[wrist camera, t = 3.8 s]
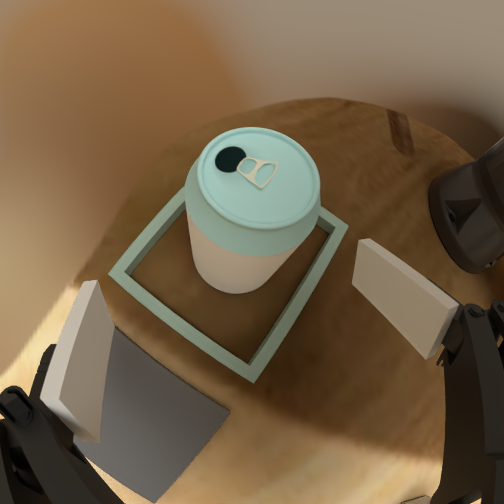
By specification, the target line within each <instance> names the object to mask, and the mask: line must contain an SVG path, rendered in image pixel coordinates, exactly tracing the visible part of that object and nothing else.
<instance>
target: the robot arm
mask: <svg viewBox="0 0 504 504" xmlns="http://www.w3.org/2000/svg"><path fill="white" fill-rule="evenodd" d="M429 203H430V209H431V214H432V217H433V221H434V224H435V227H436V229H437V232H438V234H439V236H440V238H441V240H442V242H443V244H444V246H445V248H446V249H447V251H448V253H449V254H450V255H451V257H452V258H453V259H454V261H455V262H456V263H457V264H458V265H459V266H460V267H461V268H463V269H464V270H466V271H467V272H470V273H474V274H476V273H480V272H482V271H485V270H487V269H489V268H491V267H492V266H493V265H494V264H495V263H496V262H497V260H499V259H500V258H501V257H502V256H503V255H504V137H503V138H502V139H501V140H500V141H499V142H497V143H496V144H495V145H494V146H493V147H492V148H491V149H489V150H488V151H487V152H486V153H485V154H484V155H483V156H481V157H480V158H479V159H478V160H476V161H474V162H471V163H467V164H464V165H461V166H458V167H455V168H452V169H448V170H446V171H444V172H443V173H441V174H440V175H439V176H438V177H437V178H436V179H434V180H433V182H432V184H431V186H430V191H429ZM352 285H354V286H355V287H356V288H357V289H358V290H359V291H360V292H361V293H362V294H363V295H364V296H365V297H366V298H367V299H368V300H369V301H370V302H371V303H372V304H373V305H374V306H375V307H376V308H377V309H378V310H379V311H380V312H381V313H382V314H383V315H384V316H385V317H386V318H387V319H388V320H389V321H390V322H391V324H392V325H393V326H394V327H395V328H396V329H397V330H398V331H399V332H400V333H401V334H402V335H403V336H404V337H405V338H406V339H407V340H408V341H409V342H410V343H411V344H412V345H413V347H414V348H415V349H416V350H417V351H418V352H419V353H420V354H421V355H422V356H423V357H424V358H425V359H428V358H429V357H431V356H433V355H434V354H436V353H437V351H438V349H439V347H440V345H441V343H442V344H443V345H444V346H445V348H444V350H443V352H442V354H441V355H440V357H439V359H438V361H437V364H436V365H437V366H438V365H439V364H440V362H441V360H443V363H442V365H441V366H444V376H445V401H446V420H445V443H444V455H443V465H442V473H441V480H440V485H439V487H438V489H437V490H436V492H435V493H434V494H433V496H432V498H431V500H430V503H429V504H470V503H472V502H474V501H476V500H478V499H480V498H482V499H481V504H504V340H503V341H502V343H501V345H500V346H499V348H498V347H497V344H496V343H497V341H498V340H499V338H500V336H501V335H502V337H503V339H504V301H502V300H494V301H493V302H492V304H491V307H490V309H488V310H483V309H482V308H481V307H480V306H478V305H475V304H466V305H465V306H463V305H462V304H461V303H460V302H458V301H457V300H456V299H455V298H453V297H452V296H451V295H450V294H448V293H447V292H446V291H443V289H442V288H441V287H439V286H437V284H435V283H434V282H433V281H431V280H430V279H428V278H426V277H424V276H422V275H421V274H420V273H418V272H417V271H416V270H414V269H413V268H411V267H410V266H409V265H407V264H406V263H404V262H403V261H402V260H400V259H399V258H397V257H396V256H395V255H393V254H392V253H390V252H389V251H387V250H386V249H385V248H383V247H382V246H380V245H379V244H377V243H376V242H374V241H373V240H371V239H370V238H368V239H361V240H358V247H357V254H356V261H355V267H354V273H353V279H352ZM114 327H115V325H114V323H113V320H112V318H111V315H110V313H109V310H108V308H107V305H106V302H105V300H104V297H103V294H102V291H101V288H100V285H99V282H98V280H92V281H85V282H83V284H82V286H81V288H80V290H79V292H78V295H77V297H76V299H75V301H74V303H73V306H72V308H71V310H70V313H69V315H68V317H67V320H66V322H65V325H64V327H63V330H62V332H61V335H60V337H59V340H58V342H57V344H50V346H49V347H48V348H47V349H46V351H45V352H44V353H43V356H42V358H41V361H40V365H39V367H38V370H37V373H36V375H35V378H34V381H33V385H32V388H31V391H30V394H29V397H28V395H27V394H26V393H25V392H24V391H23V389H22V388H20V387H18V386H10V387H8V388H6V389H5V390H4V391H2V392H1V394H0V414H1V415H2V416H3V417H4V418H5V419H0V504H125V503H124V502H123V501H122V500H121V499H120V498H119V497H118V496H117V495H116V494H115V493H114V492H113V491H112V490H111V488H110V487H109V486H108V485H107V484H106V483H105V482H104V480H103V479H102V478H101V477H100V476H99V474H98V473H97V472H96V471H95V469H94V468H93V467H92V466H91V464H90V463H89V462H88V460H87V459H86V458H85V456H84V455H83V454H82V452H81V451H80V450H79V448H78V447H77V445H76V444H74V443H73V438H74V435H76V436H77V437H78V438H79V439H80V440H81V441H84V442H100V427H101V414H102V404H103V395H104V387H105V379H106V372H107V366H108V359H109V354H110V348H111V342H112V337H113V332H114Z"/></svg>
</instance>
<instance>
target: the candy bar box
mask: <svg viewBox="0 0 504 504" xmlns="http://www.w3.org/2000/svg"><path fill="white" fill-rule="evenodd" d="M430 500H431V497H428V496H422V497H419V498H416V499H414V500H410V501H406V502H403V503H401V504H429V503H430Z"/></svg>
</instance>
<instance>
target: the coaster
mask: <svg viewBox="0 0 504 504" xmlns="http://www.w3.org/2000/svg"><path fill="white" fill-rule="evenodd" d="M229 414H230V410H229V409H227V408H225V407H224V406H222V405H220V404H219V403H217V402H216V401H214V400H212V399H211V398H209V397H208V396H206V395H205V394H203V393H202V392H200V391H198V390H197V389H196V388H194V387H193V386H191V385H190V384H188V383H187V382H185V381H184V380H182V379H181V378H180V377H178V376H177V375H175V374H174V373H173V372H171V371H170V370H169V369H167V368H166V367H165V366H163V365H162V364H161V363H159V362H158V361H157V360H155V359H154V358H153V357H152V356H150V355H149V354H148V353H147V352H145V351H144V350H143V349H142V348H140V347H139V346H138V345H137V344H135V343H134V342H133V341H132V340H131V339H130V338H128V337H127V336H126V335H125V334H124V333H123V332H121V331H120V330H119V329H118V328H117V327H116V326H115V327H114V332H113V337H112V342H111V348H110V354H109V359H108V366H107V372H106V379H105V387H104V395H103V404H102V414H101V427H100V442H84V441H81V440H80V439H79V438H78V437H77V436H76V435H74V438H73V443H74V444H76V445H77V447H78V448H79V450H80V451H81V452H82V454H83V455H84V456H85V457H87V458H88V459H89V460H90V461H91V462H93V463H94V464H95V465H97V466H98V467H99V468H100V469H102V470H103V471H104V472H106V473H107V474H109V475H110V476H111V477H113V478H114V479H116V480H117V481H119V482H120V483H121V484H123V485H124V486H126V487H128V488H129V489H131V490H132V491H134V492H135V493H137V494H139V495H140V496H142V497H144V498H145V499H147V500H149V501H151V502H152V503H154V504H155V503H156V502H157V500H158V499H159V498H160V497H161V496H162V495H163V494H164V493H165V492H166V491H167V490H168V489H169V487H170V486H171V485H172V484H173V483H174V482H175V481H176V480H177V478H178V477H179V476H180V475H181V474H182V473H183V471H184V470H185V469H186V468H187V467H188V466H189V464H190V463H191V462H192V461H193V460H194V458H195V457H196V456H197V455H198V454H199V452H200V451H201V450H202V449H203V447H204V446H205V445H206V444H207V442H208V441H209V440H210V439H211V437H212V436H213V435H214V434H215V432H216V431H217V430H218V428H219V427H220V426H221V424H222V423H223V422H224V421H225V419H226V418H227V417H228V415H229Z"/></svg>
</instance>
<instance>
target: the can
mask: <svg viewBox="0 0 504 504" xmlns="http://www.w3.org/2000/svg"><path fill="white" fill-rule="evenodd" d="M185 203H186V211H187V219H188V226H189V233H190V240H191V247H192V253H193V260H194V263H195V266H196V269H197V271H198V272H199V274H200V275H201V277H202V278H203V279H204V280H205V281H206V282H207V283H208V284H209V285H211V286H212V287H214V288H216V289H218V290H220V291H223V292H226V293H233V294H240V293H247V292H250V291H253V290H255V289H257V288H259V287H260V286H262V285H263V284H264V283H265V282H266V281H267V280H268V279H269V278H270V277H271V276H272V275H273V274H274V273H275V272H276V271H277V269H278V268H279V267H280V266H281V265H282V264H283V263H284V262H285V261H286V260H287V259H288V257H289V256H290V255H291V254H292V253H293V252H294V251H295V250H296V249H297V248H298V246H299V245H300V244H301V243H302V242H303V241H304V240H305V239H306V237H307V236H308V235H309V234H310V233H311V231H312V230H313V228H314V226H315V224H316V222H317V219H318V216H319V211H320V177H319V173H318V170H317V167H316V165H315V163H314V161H313V159H312V158H311V156H310V155H309V154H308V153H307V151H306V150H305V149H304V148H303V147H302V146H301V145H299V144H298V143H297V142H296V141H294V140H293V139H291V138H289V137H288V136H286V135H284V134H281V133H279V132H276V131H273V130H270V129H265V128H258V127H245V128H238V129H233V130H230V131H227V132H225V133H223V134H221V135H219V136H217V137H216V138H214V139H213V140H212V141H211V142H210V143H209V144H208V145H207V146H206V147H205V148H204V150H203V152H202V153H201V155H200V156H199V157H198V159H197V160H196V161H195V162H194V164H193V165H192V167H191V169H190V171H189V173H188V176H187V179H186V183H185Z"/></svg>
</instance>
